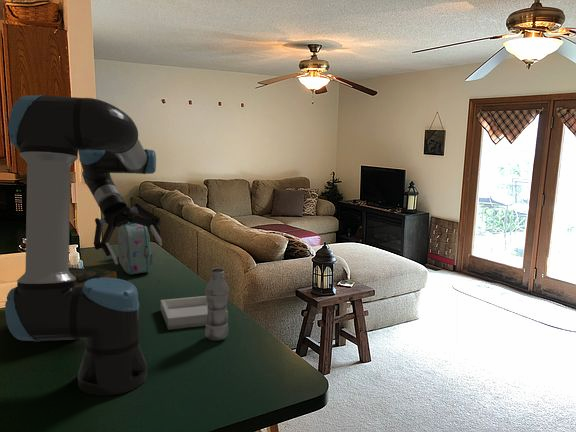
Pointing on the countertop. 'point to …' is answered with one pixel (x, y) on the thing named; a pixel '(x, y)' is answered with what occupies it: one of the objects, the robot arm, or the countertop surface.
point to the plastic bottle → (217, 306)
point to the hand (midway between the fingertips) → (139, 252)
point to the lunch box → (134, 248)
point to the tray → (185, 312)
